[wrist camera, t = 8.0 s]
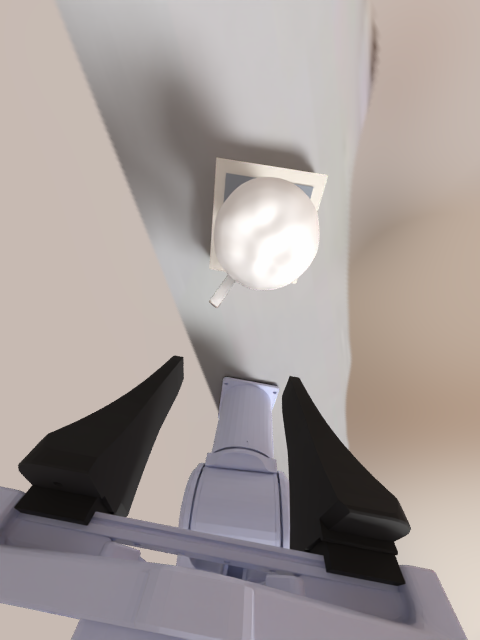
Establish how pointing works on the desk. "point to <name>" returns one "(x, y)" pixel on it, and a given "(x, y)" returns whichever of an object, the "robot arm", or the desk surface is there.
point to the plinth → (240, 172)
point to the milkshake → (264, 235)
